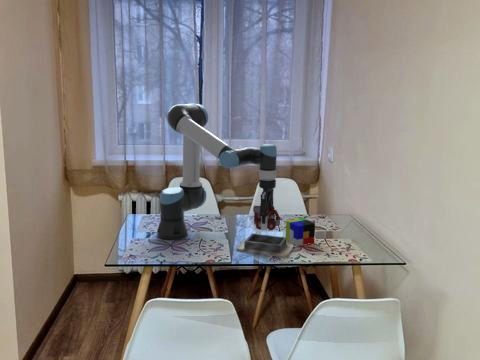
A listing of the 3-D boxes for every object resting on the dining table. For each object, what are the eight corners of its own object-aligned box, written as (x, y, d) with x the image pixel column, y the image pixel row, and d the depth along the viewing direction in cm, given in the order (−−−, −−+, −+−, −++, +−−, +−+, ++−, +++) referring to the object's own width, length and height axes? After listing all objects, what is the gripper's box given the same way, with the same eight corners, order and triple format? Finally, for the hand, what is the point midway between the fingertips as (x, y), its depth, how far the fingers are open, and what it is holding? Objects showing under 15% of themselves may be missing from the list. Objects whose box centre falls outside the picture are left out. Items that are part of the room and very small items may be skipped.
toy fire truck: (279, 230, 201) (280, 208, 199) (252, 229, 203) (252, 207, 200) (280, 226, 208) (280, 204, 206) (253, 224, 209) (254, 203, 207)
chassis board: (236, 250, 205) (236, 241, 204) (245, 240, 218) (245, 231, 217) (287, 257, 197) (287, 247, 196) (294, 246, 210) (294, 237, 209)
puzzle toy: (297, 246, 211) (297, 226, 209) (285, 239, 220) (286, 220, 218) (314, 243, 216) (315, 223, 213) (302, 236, 224) (303, 217, 222)
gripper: (269, 184, 190) (268, 235, 194) (281, 175, 209) (279, 221, 213) (252, 182, 192) (252, 233, 197) (265, 174, 211) (264, 220, 216)
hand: (266, 227), depth 205 cm, fingers closed on toy fire truck, 7 cm apart
